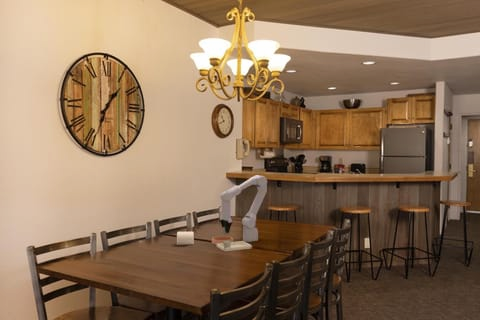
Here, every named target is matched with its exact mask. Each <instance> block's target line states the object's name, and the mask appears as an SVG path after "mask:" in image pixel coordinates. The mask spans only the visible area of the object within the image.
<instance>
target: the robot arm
mask: <svg viewBox="0 0 480 320" xmlns="http://www.w3.org/2000/svg"><path fill="white" fill-rule="evenodd" d="M253 185H254V186H255V187H256V189H257V193H256V194H255V197H254V199H253V202H252V204H251V206H250V209H249V210H248V211H247V213H246V214H245V215H244V216H243V218H242V219H241V225H243V226H242V241H244V242H246V243H248V242H250V243H251V242H256V241H259V231H258V230H259V229H258V227H256V221H257V214H258V211H259V209H261V205H262V203H263V202H264V201H263V200H264V199H265V196H266V194H267V192H268V180H267V177H266V176H264V175H258V174H256V175H254V176H252V177H250V178H248V179H247V180H246V181H244V182H242V183H241V184H239V185H232V187H230V188H229V189H227V190H225V191H223V192H221V193H220V195H219V196H220V197H219V198H220V200H221V215H220V218H219V219H220V220H219V222H220V225H221V228H222V231H223V227H224V226H225V232H226V233H229V234H230V232H231V231H230V230H231V227H232V225H233V220H232V218H231V201H232V199H233V198H235V197H236V196H238V195H240V194H241V193H242V191H243V190H245V189H247V188H249V187H250V186H253Z"/></svg>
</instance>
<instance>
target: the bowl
mask: <svg viewBox="0 0 480 320" xmlns="http://www.w3.org/2000/svg"><path fill="white" fill-rule="evenodd" d="M223 241H231V242H234V238H233V237H232V236H228V235H225V236H224V235H219V236H213V237H212V238H211V244H212V245H215V246H216V244H218V243H223Z"/></svg>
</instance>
